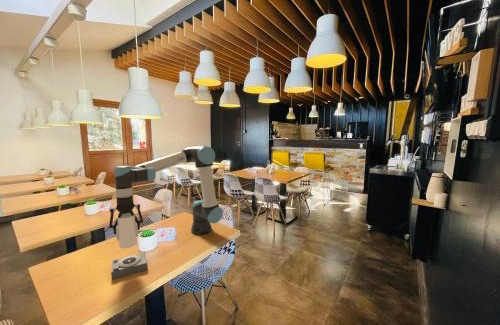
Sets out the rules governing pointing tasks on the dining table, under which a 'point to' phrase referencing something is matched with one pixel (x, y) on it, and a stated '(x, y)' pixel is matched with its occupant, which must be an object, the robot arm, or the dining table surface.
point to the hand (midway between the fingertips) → (127, 237)
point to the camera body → (128, 265)
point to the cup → (127, 230)
